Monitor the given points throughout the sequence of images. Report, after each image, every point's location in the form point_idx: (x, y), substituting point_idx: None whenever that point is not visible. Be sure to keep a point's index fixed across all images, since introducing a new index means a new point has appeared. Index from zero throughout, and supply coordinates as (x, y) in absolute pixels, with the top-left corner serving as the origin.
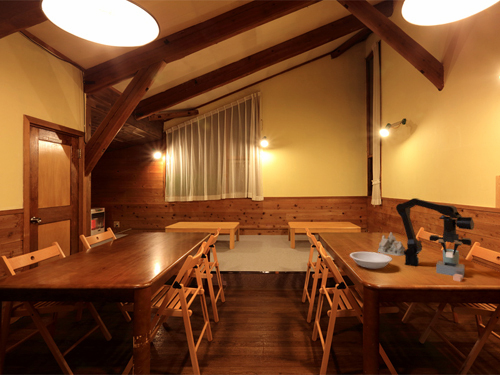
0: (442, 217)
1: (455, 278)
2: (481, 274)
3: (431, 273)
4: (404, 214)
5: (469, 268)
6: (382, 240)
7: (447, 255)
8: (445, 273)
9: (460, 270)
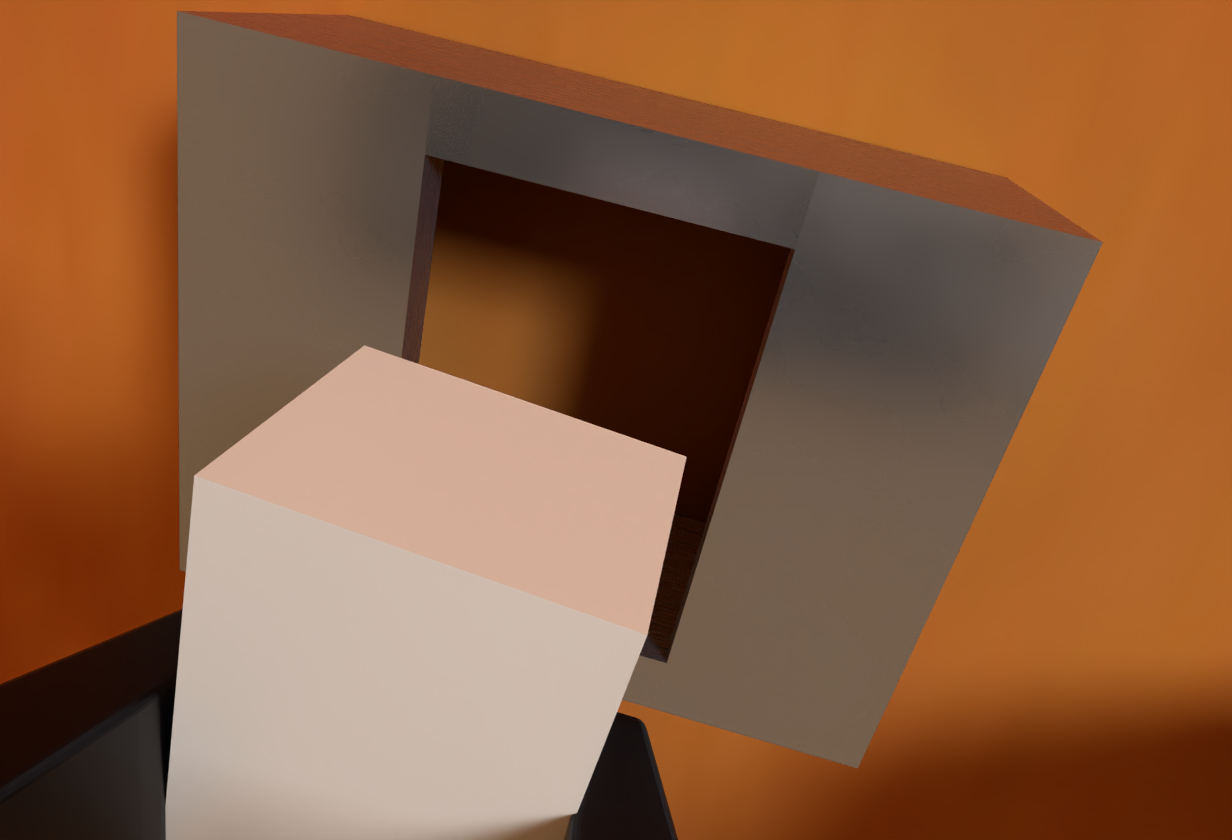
0: None
1: None
2: (36, 505)
3: (1208, 14)
4: None
5: None
6: None
7: (582, 482)
8: (769, 121)
9: (316, 28)
